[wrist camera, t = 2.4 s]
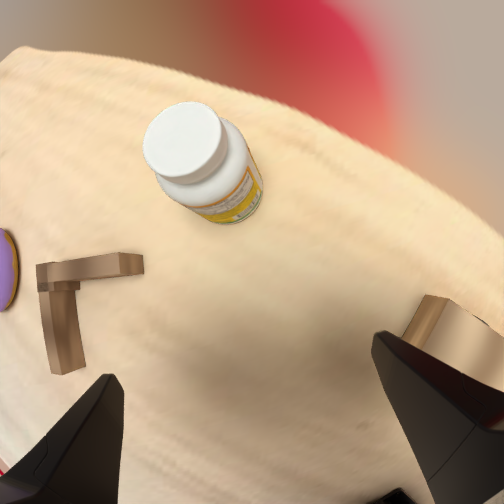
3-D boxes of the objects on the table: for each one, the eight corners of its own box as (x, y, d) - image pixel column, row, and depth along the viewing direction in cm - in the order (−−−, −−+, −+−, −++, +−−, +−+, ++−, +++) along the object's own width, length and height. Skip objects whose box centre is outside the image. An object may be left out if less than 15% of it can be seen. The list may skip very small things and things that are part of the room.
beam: (514, 353, 17) (539, 363, 13) (485, 404, 18) (507, 421, 14) (426, 292, 19) (450, 295, 15) (392, 353, 20) (409, 369, 16)
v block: (151, 263, 23) (127, 261, 20) (81, 372, 24) (58, 382, 20) (94, 207, 24) (70, 199, 21) (37, 315, 25) (13, 318, 21)
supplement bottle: (262, 225, 22) (232, 191, 12) (192, 225, 23) (122, 196, 13) (264, 155, 22) (239, 84, 13) (197, 158, 23) (139, 98, 13)
